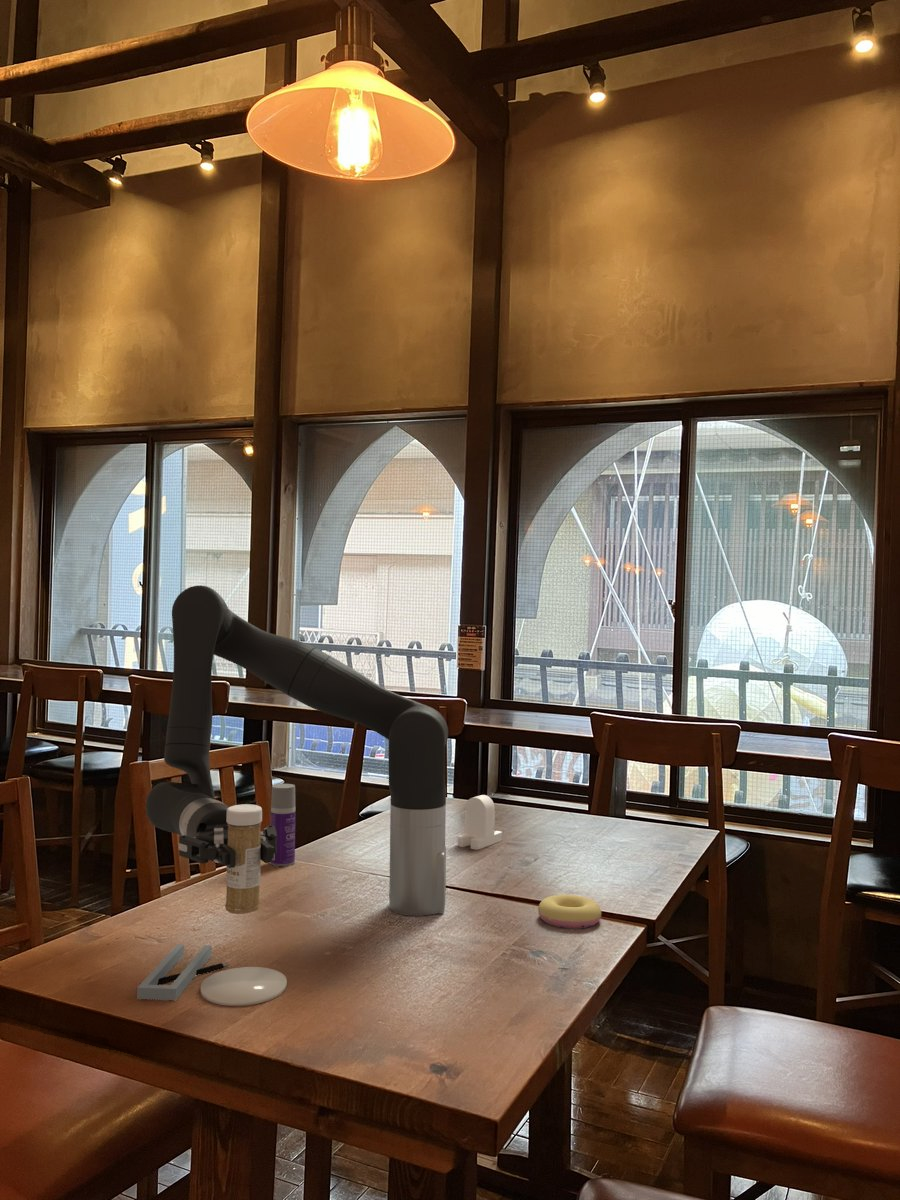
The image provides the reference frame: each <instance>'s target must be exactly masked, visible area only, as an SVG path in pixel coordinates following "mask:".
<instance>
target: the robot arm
mask: <svg viewBox="0 0 900 1200" xmlns="http://www.w3.org/2000/svg"><path fill="white" fill-rule="evenodd" d="M171 621H172V622H171V623H172V635H173V637H172V638H173V639H172V640H173V674H172V683H171V684H172V685H171V686H172V687H171V695H170V703H169V711H168V720H167V728H166V736H165V744H164V745H165V746H164V754H163V757H164V759H163V760H164V762H165V764H166V765H167V766H169V767H172V768H174V769H177V770H181V771H182V772H185V773H186V774H187V775H188V777H189V780H190V783H188V782H187V783H186V782H177V781H163V782H159V783H158V784H155V786H153V787H152V788H151V790H150V791H149V792H148V794H147V797H146V800H145V812H146V816H147V819H148V821H150V824H152V825H153V826H154V827H155V828H157V829H160V830H162V831H166V832H169V833H173V834H176V835H179V836H178V856H180V857H183V858H185V859H188V860H191V861H194V862H196V863H199V864H203V865H205V864H207V863H208V862H209V861H210V862H214V863H217V864H220V865H223V866H226V868H227V867H228V868H234V867H235V851H234V850H233V849H232V848H231V847H229V846H228V823H227V822H226V818H227V809H228V808H229V807H230V806H228V805H227V804H225V803H224V802H222V801H220V800H218V799H216V795H215V790H214V785H213V782H212V775H211V766H210V765H211V764H210V747H211V739H212V729H213V694H212V693H213V691H212V690H213V689H212V675H213V674H212V673H213V671H212V670H213V660H214V656H216V657H218V658H221V659H223V660H226V661H228V662H231V663H233V664H235V665H237V666H239V667H241V668H243V669H245V670H246V671H248V672H249V673H251V674H252V675H254V676H255V677H256V678H258V679H260V680H261V681H263V682H265V683H266V684H268V685H270V686H272V688H275V689H277V690H278V691H280V692H281V693H282V694H284V695H287V696H288V697H290V698H292V699H294V700H296V701H298V702H299V703H301V704H303V705H305V706H307V707H309V708H311V709H313V710H315V711H319V712H322V713H324V714H327V715H330V716H333V717H336V718H341V719H343V720H347V721H351V722H354V723H357V724H359V725H362V726H364V727H366V728H368V729H370V730H372V731H373V732H375V733H377V734H379V735H380V736H382V737H383V738H385V739H387V740H388V788H389V789H388V790H389V793H390V812H389V813H390V814H389V815H390V817H389V818H390V819H389V835H390V836H389V890H388V891H389V893H388V899H389V905H388V906H389V909H390V910H391V911H392V912H394V913H396V914H400V915H405V916H429V915H435V914H444V913H445V908H446V907H445V906H446V892H447V891H446V885H447V883H446V882H447V881H446V880H447V879H446V878H447V876H446V873H447V872H446V871H447V846H446V827H447V826H446V824H447V823H446V821H447V820H446V817H447V815H446V813H447V811H446V809H447V808H446V807H447V806H446V805H447V804H446V803H447V788H446V780H445V776H446V775H445V771H446V770H445V767H446V766H445V762H446V760H445V759H446V758H445V757H446V755H445V754H446V749H445V748H446V745H447V742H448V738H449V727H448V724H447V722H446V719H445V718H444V716H443V715H442V714H441V713H440V712H439V711H438V710H436V709H434V708H433V707H431V706H428V705H426V704H424V703H423V704H422V703H421V702H418V701H415V700H413V699H410V698H407V697H405V696H402V695H400V694H397V693H395V692H393V691H391V690H389V689H387V688H385V687H383V686H381V685H379V684H378V683H376V682H374V681H373V680H371V679H369V678H368V677H366V676H365V675H364V674H362V673H360V671H359V672H358V671H357V670H356V669H353V668H352V667H350V666H349V665H346V664H345V663H344V662H342V661H340V660H338V659H336V658H335V657H333V656H331V655H329V654H327V653H326V652H324V651H322V650H320V649H318V648H316V647H314V646H312V645H310V644H308V643H305V642H302V641H300V640H296V639H294V638H291V637H290V638H289V637H287V636H281V635H279V634H278V635H277V634H275V633H271V632H268V631H265V630H262V629H260V627H257V626H255V625H253V624H251V623H250V622H248V621H247V620H245V619H243V618H242V617H241V616H239V615H238V614H236V613H235V612H233V611H232V610H231V609H230V608H229V607H228V606H227V604H226V602H225V600H224V598H223V597H222V596H221V595H220V594H219V592H217V591H216V590H215V589H214V588H211V587H209V586H206V585H193V586H189V587H187V588H186V589H185V588H184V590H183V591H181V592H180V593H179V594H178V595H177V597H176V598H175V600H174V602H173V604H172V608H171ZM260 832H261V834H260V844H261V862H263V863H264V864H270V862H271V861H272V859H274V854H275V853H277V848H276V840H277V833H276V829H275V826H272V825H271V824H268V825H265V828H263V830H262V831H260Z"/></svg>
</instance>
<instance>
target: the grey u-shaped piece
mask: <svg viewBox="0 0 900 1200" xmlns="http://www.w3.org/2000/svg"><path fill="white" fill-rule="evenodd" d="M203 945H204V944H203ZM184 954H185V944H179V943H178V944H176V945H175V946H174V947H173V948H172V950H170V951H169V953H168V954H166V956H165V957H164V958H163V959H162V960H161V961H160V962H159V963H158V964H157V965H156V966H155V968H154V969H153V970H152V971H150V973H149V974H148V975H147V977H145V979H144V980H142V982H140V983H141V984H139V985H138V986H137V988H136V989H137V990H136V1000H138V999H139V1001H140V1000H141V999H148V1000H147V1001H169V1000H176V1001H177V1000H178V999H179V998H180V997H181V995H182V994H183V992H184V991H185V990H186V989H187V987H188V986H189V985H190V984H191V982H192V981H193V980H194V979H195V977H196V976H195V975H196V971H197V970H198V969H201V968H204V966H205V965H206V964H207V962H208V961H209V960H210V958H211V957H212V945H207V944H205V945H204V946H203V947H202V948H201V949H200V950H199V952H198V953H196V955H195V956H194V957H193V959H192V960H191V961H190V962H189V963H188V965H187V966H185V968H184V969H183V970H182V972H180V973H181V974H180V975H179V976H178V978H177V979H176V980H175V981H172V983H171V985H170V984H169V985H167V984H161V985H157V984H158V980H159V978H163V977H167V976H168V974H167V973H168V972H169V971H170V972H171V970H173V968H174V967H175V966H176V965H177V964H178V963H179V961H180V960H181V959H182V958H183V957H184V956H183V955H184ZM182 956H183V957H182ZM181 957H182V958H181ZM180 958H181V959H180ZM179 959H180V960H179ZM208 959H209V960H208ZM176 963H177V964H176ZM205 963H206V964H205ZM175 964H176V965H175ZM204 964H205V965H204ZM174 965H175V966H174ZM203 965H204V966H203ZM173 966H174V967H173ZM170 972H169V973H170ZM193 978H194V979H193ZM192 979H193V980H192ZM189 983H190V984H189ZM188 984H189V985H188ZM185 988H186V989H185ZM181 993H182V994H181ZM177 998H178V999H177ZM149 999H151V1000H149ZM152 999H153V1000H152ZM154 999H155V1000H154ZM157 999H158V1000H157Z"/></svg>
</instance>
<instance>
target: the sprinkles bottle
mask: <svg viewBox="0 0 900 1200" xmlns="http://www.w3.org/2000/svg"><path fill="white" fill-rule="evenodd" d="M228 807H229V808H228V809H227V818H226V822H227V823H228V846H229V847H231V848H232V849H233V850H234V851H235V867H234V868H228V867H227V866H226V874H225V875H226V876H225V877H226V878H225V882H226V884H225V885H226V896H225V897H226V899H225V904H224V905H225V907H224V908H225V910H226V911H227V912H228V913H230V914H235V915H246V914H251V913H253V912H257V911H259V909H260V908H261V903H260V884H261V865H262V860H261V844H260V834H261V832H260V831H261V825H262V822H263V809H262V807H261V806H260V805H257V804H251V803H250V804H248V803H245V804H243V803H242V804H235V805H232V806H228Z"/></svg>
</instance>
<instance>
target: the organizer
mask: <svg viewBox="0 0 900 1200" xmlns="http://www.w3.org/2000/svg"><path fill="white" fill-rule="evenodd" d="M464 805H465V807H464V833H463V834H460V835H457V847H461V848H464V847H467V846H470V849H472V850H480V849H483V848H487V847H489V846H491V845H492V846H493V845H494V844H498V843H500V842H502V841H503V831H501V830H495V825H496V824H495V822H496V821H495V820H496V819H495V818H496V816H495V811H496V808H495V803H494V801H493V799H492V798H491V797H489V795H486V794H481V795H476V796H474V797H470V798H469V799H468V800H467V801H466V803H465V804H464Z"/></svg>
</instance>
